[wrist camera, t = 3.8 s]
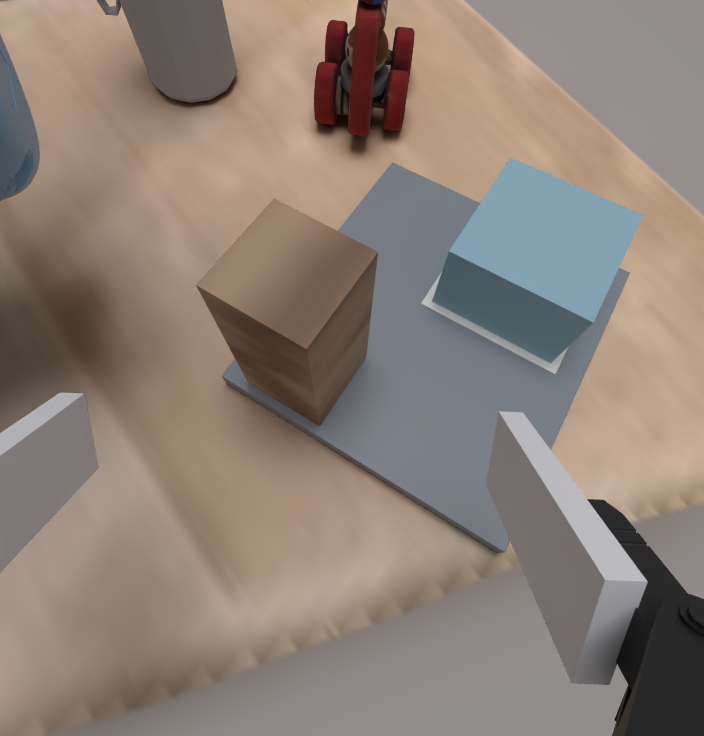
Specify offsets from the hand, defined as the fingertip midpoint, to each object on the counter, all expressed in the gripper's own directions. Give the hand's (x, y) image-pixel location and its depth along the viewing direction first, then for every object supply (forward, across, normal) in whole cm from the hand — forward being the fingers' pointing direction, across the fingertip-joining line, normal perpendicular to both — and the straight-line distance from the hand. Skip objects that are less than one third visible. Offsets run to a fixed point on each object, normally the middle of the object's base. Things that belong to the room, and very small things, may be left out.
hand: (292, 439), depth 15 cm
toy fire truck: (+31, +2, +14) cm, 34 cm away
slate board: (+15, +7, -1) cm, 17 cm away
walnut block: (+12, -1, -2) cm, 12 cm away
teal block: (+16, +12, +2) cm, 21 cm away
